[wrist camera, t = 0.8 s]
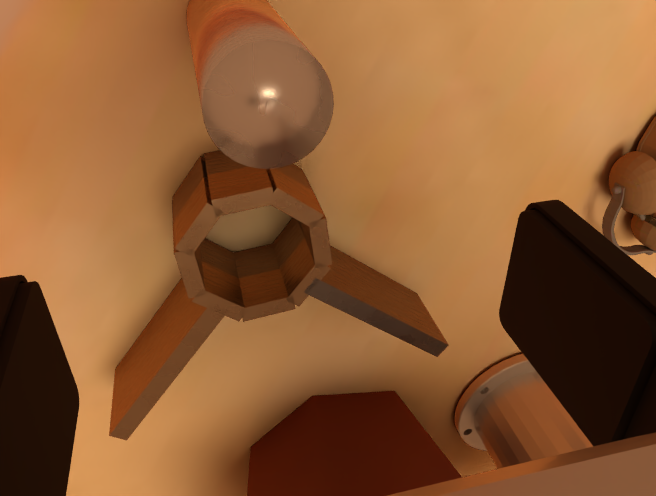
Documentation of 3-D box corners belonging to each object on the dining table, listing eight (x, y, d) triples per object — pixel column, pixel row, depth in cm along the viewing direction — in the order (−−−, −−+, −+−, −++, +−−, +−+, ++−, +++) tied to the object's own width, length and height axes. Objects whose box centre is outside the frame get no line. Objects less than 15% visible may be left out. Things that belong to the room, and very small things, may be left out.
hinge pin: (285, 11, 31) (359, 90, 19) (240, 78, 32) (283, 189, 21) (215, -44, 28) (252, 9, 17) (170, 31, 30) (176, 126, 18)
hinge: (447, 259, 43) (484, 308, 38) (293, 427, 49) (308, 488, 44) (224, 120, 33) (235, 163, 28) (66, 352, 39) (52, 420, 34)
